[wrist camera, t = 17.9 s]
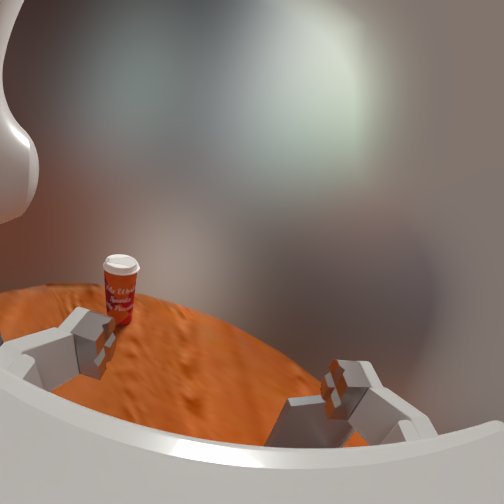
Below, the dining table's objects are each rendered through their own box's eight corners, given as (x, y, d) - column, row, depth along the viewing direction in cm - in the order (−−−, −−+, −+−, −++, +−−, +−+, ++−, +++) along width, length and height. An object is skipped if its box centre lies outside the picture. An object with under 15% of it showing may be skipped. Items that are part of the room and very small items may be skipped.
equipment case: (281, 544, 21) (339, 505, 16) (253, 465, 34) (287, 398, 29) (359, 519, 25) (428, 465, 20) (324, 453, 37) (370, 387, 32)
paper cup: (102, 328, 54) (102, 268, 50) (103, 308, 61) (103, 252, 56) (138, 329, 58) (141, 270, 53) (135, 309, 64) (139, 254, 60)
